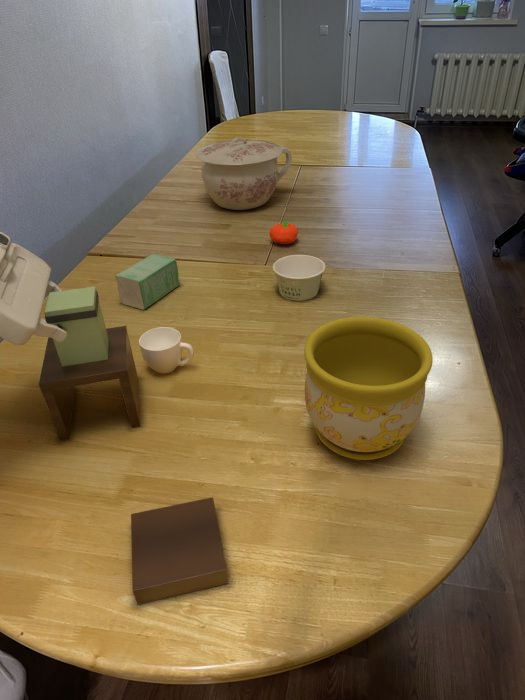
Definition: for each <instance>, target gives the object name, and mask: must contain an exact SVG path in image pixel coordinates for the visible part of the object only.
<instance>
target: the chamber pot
mask: <svg viewBox="0 0 525 700" xmlns="http://www.w3.org/2000/svg"><path fill="white" fill-rule="evenodd" d="M282 154H285V158H286V159H285V162H284V163H285V164H284V165H283V167H282V168H281V169H280V171H279V164H278V157H280V156H281V155H282ZM194 156H195V158H196V159H197V160H198V161H200V162H202V163H203V164H202V166H201V168H200V169H201V178H202V181H203V184H204V188H205V190H206V193H207V194H208V195H209V197H210V198H211V200H212V201H213V202H214V203H215V204H216V205H217V206H219V207H220V208H223V209H225V210H230V211H248V210H249V211H250V210H253V209H256V208H259V207H262V206H264V205H265V204H267V203H268V201H269V200H270V199H271V197H272V195H273V193H274V192H275V190H276V187H277V184H278V182H279V181H280V180H282V178H283V177H284V176H285V175H286V174H287V173H288V171H289V169H290V168H291V166H292V162H293V158H292V152H291V151H290V149H289V148H288V147H287V146H285V145H279V144H276V143H274V142H270V141H265V140H260V139H246V138H245V137H235V138H232V139H231V140H222V141H218V142H214V143H210V144H207V145H204V146H202V147H200V148H198V149H197V151H196V152H195V154H194Z"/></svg>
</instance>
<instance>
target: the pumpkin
mask: <svg viewBox="0 0 525 700" xmlns="http://www.w3.org/2000/svg"><path fill="white" fill-rule="evenodd" d="M282 222H283V223H277V224H275V225H273V226H272V227H271V228H270V229H269V232H268V234H269V238H270V239H271V241H273V242H274V243H276V244H279V245H290V244H293V242H295V241H296V240H297V237H298V234H299V230H298V228H297V227H296V225H295V224H292V223H287V222H288V221H287V220H283V221H282Z"/></svg>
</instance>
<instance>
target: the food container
mask: <svg viewBox="0 0 525 700" xmlns="http://www.w3.org/2000/svg"><path fill="white" fill-rule="evenodd" d="M272 270H273V272H274V273H275V277H276V283H277V287H278V290H279V294H280V296H282V298H284V299H287V300H290V301H297V302H298V301H301V302H302V301H308V300H311V299H314V298H315V297H317V295H318V294H319V292H320V291H319V290H320V287H321V282H322V279H323V278H322V277H323V273H324V272H325V271H326V264H325V262H324V261H323V260H322V259H321V258H318V257H316V256H312V255H308V254H292V255H291V254H290V255H287V256H282V257H280V258H278V259H277V260H276V261H274V263H273V264H272Z"/></svg>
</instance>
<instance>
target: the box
mask: <svg viewBox="0 0 525 700" xmlns="http://www.w3.org/2000/svg"><path fill="white" fill-rule="evenodd" d="M177 263H178V262H177V260H176V258H174V257H170V256H166V255H161V254H157V253H153V254H150V255H148V256H146V257H145V258H143V259H141V260H140V261H138V262H136V263H134V264H132V265H131V266H129V267H128V268H126V269H124V270H123V271H121V272H119V273H117V274H115V280H116V284H117V285H116V286H117V290H118V294H119V300H120V303H121V304H123V305H125V306H127V307H128V306H129V307H131V308H134V309H137V310H142V311H143V310H146V309H148V308H149V307H150V306H152V305H153V304H155V303H156V302H158V301H159V300H161V299H162V298H163V297H165V296H166V295H168V294H170V292H172V291H173V290H176V288H177V287H179V286H180V279H179V269H178V264H177Z"/></svg>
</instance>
